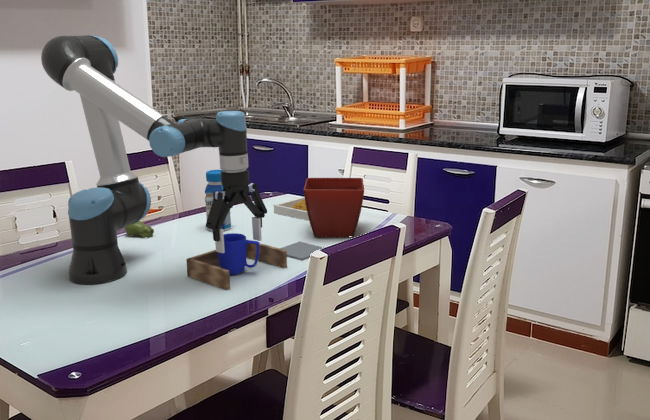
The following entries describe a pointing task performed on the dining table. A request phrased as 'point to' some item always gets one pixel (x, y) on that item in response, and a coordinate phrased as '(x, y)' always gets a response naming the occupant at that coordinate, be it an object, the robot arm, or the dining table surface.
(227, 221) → the beverage bottle
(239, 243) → the mug
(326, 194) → the plant pot
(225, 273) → the wooden u-shaped frame
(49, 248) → the dining table surface
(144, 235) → the pear
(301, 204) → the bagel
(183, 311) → the dining table surface
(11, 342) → the dining table surface
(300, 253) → the mat
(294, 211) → the bagel dish
